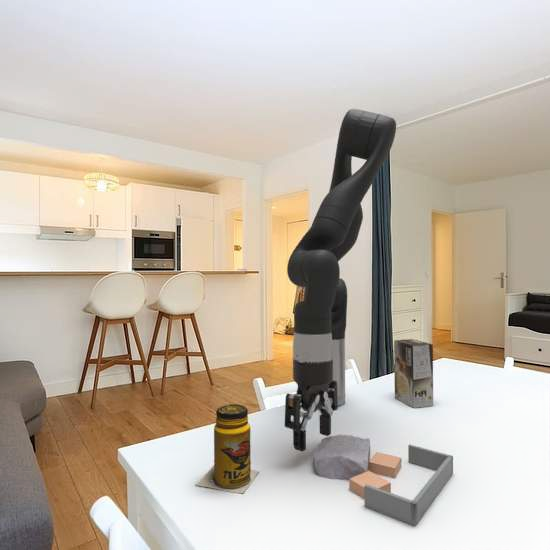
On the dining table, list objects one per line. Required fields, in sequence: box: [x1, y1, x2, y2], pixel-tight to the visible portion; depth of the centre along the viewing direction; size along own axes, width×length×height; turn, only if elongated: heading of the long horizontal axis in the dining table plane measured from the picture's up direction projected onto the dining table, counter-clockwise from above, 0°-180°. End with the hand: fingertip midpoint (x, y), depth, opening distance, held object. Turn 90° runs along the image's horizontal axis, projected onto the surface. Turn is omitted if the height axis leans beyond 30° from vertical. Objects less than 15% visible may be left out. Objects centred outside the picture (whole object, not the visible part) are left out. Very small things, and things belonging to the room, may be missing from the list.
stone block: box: [313, 433, 371, 481], centre depth 72 cm, size 12×5×10 cm
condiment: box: [195, 403, 260, 494], centre depth 67 cm, size 7×8×12 cm
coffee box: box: [393, 338, 434, 409], centre depth 106 cm, size 9×6×16 cm
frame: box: [363, 444, 454, 527], centre depth 63 cm, size 8×18×3 cm, turn 141°
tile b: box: [368, 451, 402, 479], centre depth 70 cm, size 4×4×2 cm
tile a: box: [348, 470, 392, 499], centre depth 63 cm, size 4×4×2 cm
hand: (313, 441), depth 75 cm, fingers open, 8 cm apart
